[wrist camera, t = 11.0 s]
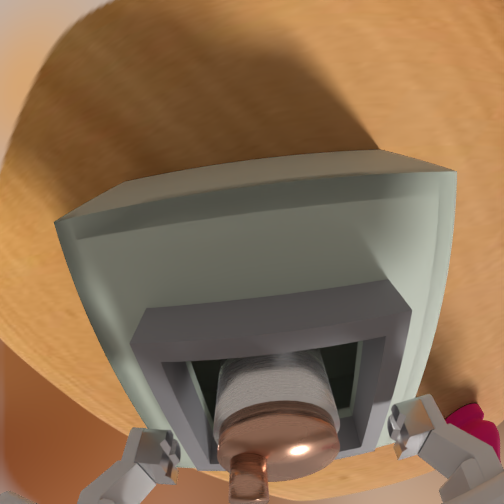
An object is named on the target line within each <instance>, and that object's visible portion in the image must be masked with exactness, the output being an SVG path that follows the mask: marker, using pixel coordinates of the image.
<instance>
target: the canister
mask: <svg viewBox="0 0 504 504" xmlns="http://www.w3.org/2000/svg"><path fill="white" fill-rule="evenodd" d="M339 428H340V419H339V416H338V412H337V408H336V405H335V401H334V398H333V394H332V390H331V387H330V383H329V380H328V376H327V373H326V369H325V366H324V362H323V359H322V355H321V352H320V349H319V348H316V349H309V350H302V351H295V352H288V353H280V354H271V355H262V356H252V357H242V358H230V359H221V360H220V369H219V378H218V388H217V398H216V407H215V417H214V428H213V436H214V439H215V441H216V443H217V445H218V451H217V459H218V462H219V464H220V465H221V466H222V467H223V468H224V469H225V470H226V471H228V472H229V473H230V479H229V503H231V504H267V503H268V502H269V491H268V482H277V481H287V480H293V479H297V478H301V477H305V476H308V475H311V474H313V473H315V472H317V471H319V470H321V469H323V468H325V467H326V466H328V465H329V464H330V463H331V462H332V461H333V460H334V459H335V458H336V457H337V455H338V453H339V450H340V444H339V440H338V436H337V433H338V431H339Z"/></svg>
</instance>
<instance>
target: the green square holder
mask: <svg viewBox="0 0 504 504" xmlns="http://www.w3.org/2000/svg"><path fill="white" fill-rule="evenodd" d="M456 186H457V171H454V170H451V169H448V168H445V167H442V166H439V165H435V164H432V163H429V162H425V161H422V160H418V159H415V158H411V157H408V156H404V155H400V154H397V153H393V152H389V151H385V150H381V149H379V150H355V151H338V152H324V153H311V154H300V155H289V156H280V157H270V158H262V159H254V160H246V161H238V162H231V163H224V164H217V165H211V166H205V167H198V168H193V169H187V170H181V171H175V172H170V173H165V174H160V175H154V176H149V177H145V178H140V179H135V180H130V181H126V182H123V183H121V184H119V185H117V186H115V187H113V188H111V189H110V190H108V191H106V192H104V193H102V194H100V195H99V196H97V197H95V198H93V199H92V200H90V201H88V202H86V203H85V204H83V205H81V206H79V207H78V208H76V209H74V210H73V211H71V212H69V213H68V214H66V215H64V216H63V217H61V218H59V219H58V220H56V221H55V222H54V224H55V228H56V231H57V234H58V238H59V241H60V244H61V247H62V250H63V253H64V256H65V259H66V262H67V265H68V268H69V271H70V273H71V276H72V279H73V281H74V284H75V287H76V289H77V292H78V294H79V297H80V299H81V302H82V304H83V307H84V309H85V311H86V314H87V316H88V318H89V321H90V323H91V325H92V327H93V330H94V332H95V334H96V336H97V338H98V340H99V342H100V344H101V347H102V349H103V351H104V353H105V355H106V357H107V359H108V361H109V363H110V364H111V366H112V368H113V370H114V372H115V374H116V376H117V378H118V379H119V381H120V383H121V385H122V387H123V388H124V390H125V392H126V394H127V395H128V397H129V399H130V401H131V402H132V404H133V406H134V407H135V409H136V411H137V412H138V414H139V415H140V417H141V419H142V420H143V422H144V423H145V425H146V426H147V428H148V429H162V430H171V431H172V433H173V434H174V435H173V438H174V439H175V440H177V441H178V443H179V445H180V448H181V458H180V462H179V463H178V464H177V465H176V467H183V468H196V469H197V470H198V471H226V470H225V469H224V468H223V467H222V466H221V465H220V464H219V462H218V459H217V451H218V445H217V443H216V441H215V439H214V436H213V428H214V417H215V407H216V398H217V388H218V378H219V369H220V360H221V359H230V358H242V357H252V356H262V355H271V354H280V353H288V352H295V351H302V350H309V349H316V348H319V349H320V352H321V355H322V359H323V362H324V366H325V369H326V373H327V376H328V380H329V383H330V387H331V390H332V394H333V398H334V401H335V405H336V408H337V412H338V416H339V419H340V428H339V431H338V433H337V436H338V440H339V444H340V450H339V453H338V455H337V457H336V458H335V459H341V458H345V457H350V456H355V455H359V454H363V453H368V452H372V451H375V448H377V447H381V446H384V445H388V444H391V443H395V442H396V441H394V440H392V439H391V438H390V436H389V433H388V428H387V421H388V417H389V416H390V415H391V414H392V411H391V408H392V406H393V405H394V404H396V403H400V402H403V401H406V400H409V399H413V398H415V396H416V393H417V391H418V388H419V385H420V382H421V379H422V376H423V373H424V370H425V367H426V363H427V360H428V357H429V353H430V350H431V346H432V343H433V339H434V335H435V331H436V327H437V323H438V319H439V314H440V310H441V305H442V301H443V296H444V291H445V285H446V280H447V274H448V268H449V261H450V254H451V247H452V238H453V229H454V218H455V205H456ZM335 459H334V460H335Z"/></svg>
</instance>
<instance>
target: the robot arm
mask: <svg viewBox="0 0 504 504" xmlns="http://www.w3.org/2000/svg"><path fill="white" fill-rule="evenodd" d="M391 411H392V414H391V415H390V416H389V417H388V421H387V428H388V433H389V436H390V438H391V439H392V440H394V441H396V442H395V444H394V450H395V453H396V456H397V459H398V460H401V459H404V458H408V457H411V456H414V455H417V454H418V456H419V457H420V458H422V459H423V460H424V461H426V462H427V463H428V464H429V465H431V466H432V467H433V468H434V469H436V470H437V471H438V472H440V473H441V474H442V475H444V476H445V477H446V478H447V479H448V480H447V481H446V482H445V483H444V484H443V485H442V486H441V488H440V489H439V492H440V495H441V498H442V501H443V503H442V504H504V469H503V467H502V465H501V463H500V461H499V459H498V457H497V455H496V453H495V451H494V449H493V447H492V446H490V445H488V444H487V443H485V442H483V441H481V440H479V439H477V438H476V437H474V436H472V435H470V434H468V433H466V432H465V431H463V430H461V429H459V428H458V427H456V426H454V425H452V424H447V423H446V421H445V420H444V418H443V416H442V414H441V412H440V410H439V408H438V406H437V404H436V402H435V401H434V399H433V397H432V395H430V394H426V395H423V396H420V397H416V398H413V399H409V400H406V401H403V402H400V403H396V404H394V405H393V406H392V408H391ZM173 435H174V434H173V433H172V431H171V430H162V429H146V428H134V427H133V428H132V429H131V431H130V433H129V436H128V440H127V443H126V446H125V449H124V453H123V456H122V460H121V461H117V462H116V463H115V464H113V465H112V466H111V467H110V468H109V469H107V471H105V472H104V473H103V474H102V475H100V476H99V477H98V478H97V479H96V480H95V481H93V482H92V483H91V484H90V485H88V486H87V487H86V488H85V489H84V490H82V491H81V493H80V496H79V499H78V502H77V504H140V503H141V501H142V500H143V499H144V498H145V497H146V496H147V495H148V494H149V492H150V491H151V490H152V489H153V488H154V487H155V485H156V483H159V484H172V485H176V484H177V478H178V469H177V468H176V465H177V464H178V463H179V462H180V458H181V448H180V445H179V443H178V441H177V440H175V439H174V438H173ZM0 504H37V503H35V502H33V501H30V500H28V499H26V498H24V497H22V496H20V495H18V494H16V493H14V492H11V491H6V492H4V493H2V494H0Z"/></svg>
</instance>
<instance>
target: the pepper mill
mask: <svg viewBox="0 0 504 504" xmlns="http://www.w3.org/2000/svg"><path fill="white" fill-rule="evenodd" d="M483 417H484V413H483V411H482V410H481V408H480V406H479V405H478V404H476V403H473V404H468V405H466V406H464V407H462V408H460V409H458V410H457V411H455V412H454V413H452V414H451V415H450V416H448V417H447V418H446V419H445V421H446V423H447V424H452V425H454V426H456V427H458V428H459V429H461V430H463V431H465V432H466V433H468V434H470V435H472V436H474V437H476V438H477V439H479V440H481V441H483V442H485V443H487V444H488V445H490V446H492V447H493V449H494V451H495V453H496V455H497V457H498V459H499V461H500V438H499V432H498V430H497V428H496V426H495V424H494V423H492V422H490V421H485V420H483ZM500 463H501V461H500Z"/></svg>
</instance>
